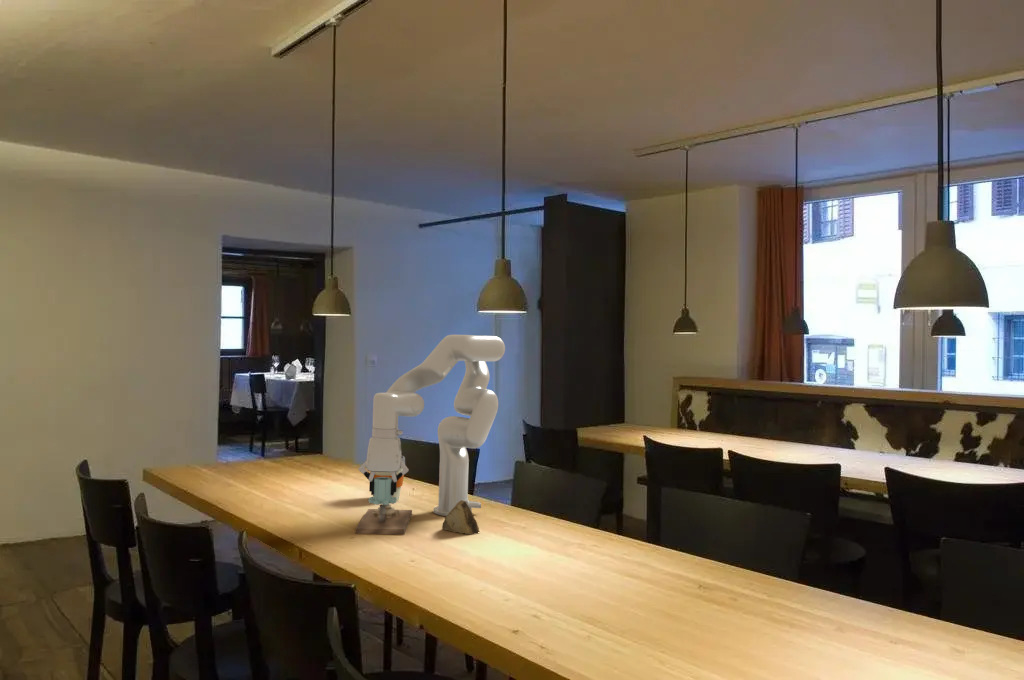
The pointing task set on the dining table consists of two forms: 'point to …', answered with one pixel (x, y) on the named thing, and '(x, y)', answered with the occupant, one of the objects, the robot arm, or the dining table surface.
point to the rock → (461, 519)
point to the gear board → (386, 526)
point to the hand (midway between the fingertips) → (382, 493)
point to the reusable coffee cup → (388, 474)
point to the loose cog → (382, 491)
